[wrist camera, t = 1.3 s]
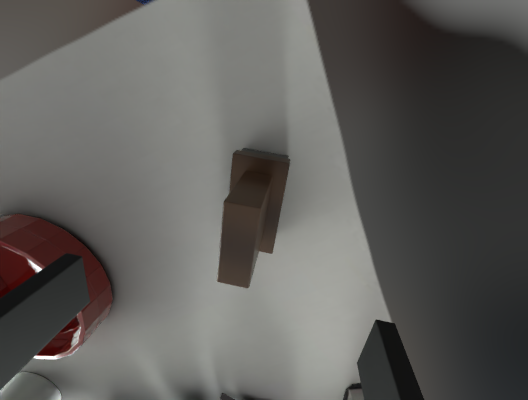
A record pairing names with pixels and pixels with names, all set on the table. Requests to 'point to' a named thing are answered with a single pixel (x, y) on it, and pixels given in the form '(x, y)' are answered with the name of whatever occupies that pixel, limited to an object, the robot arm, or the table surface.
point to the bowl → (41, 255)
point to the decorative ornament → (354, 392)
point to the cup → (30, 388)
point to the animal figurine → (225, 397)
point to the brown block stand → (250, 213)
